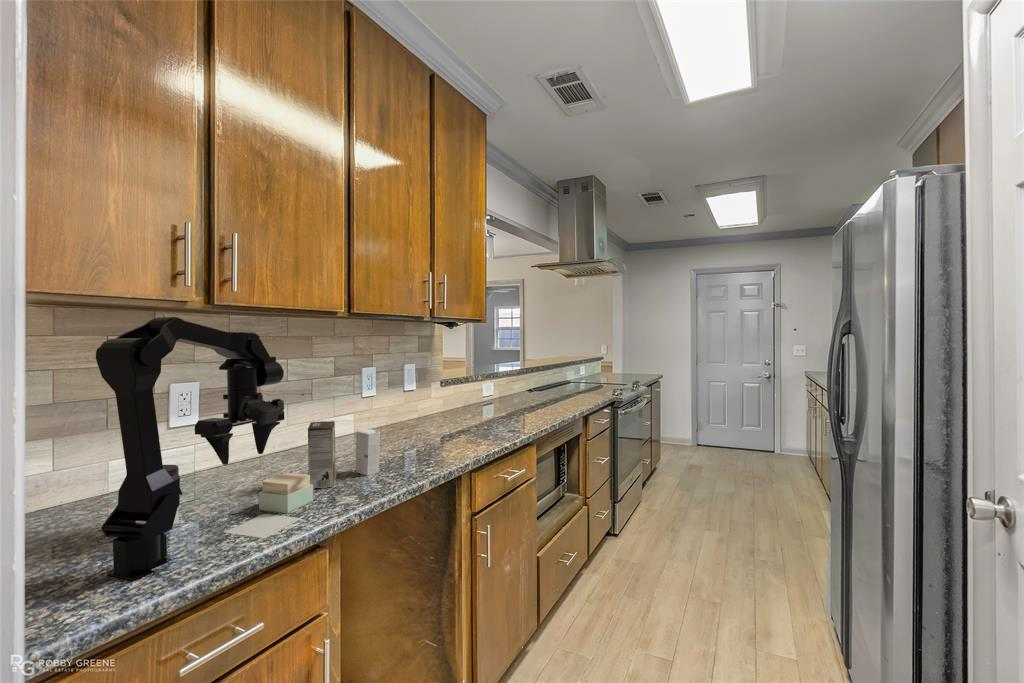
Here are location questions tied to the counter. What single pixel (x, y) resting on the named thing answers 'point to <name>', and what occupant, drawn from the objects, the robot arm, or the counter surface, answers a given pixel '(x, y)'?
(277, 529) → the mat
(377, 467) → the skincare box
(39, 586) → the counter surface
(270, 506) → the sage green tray
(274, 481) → the lid
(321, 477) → the coffee box
